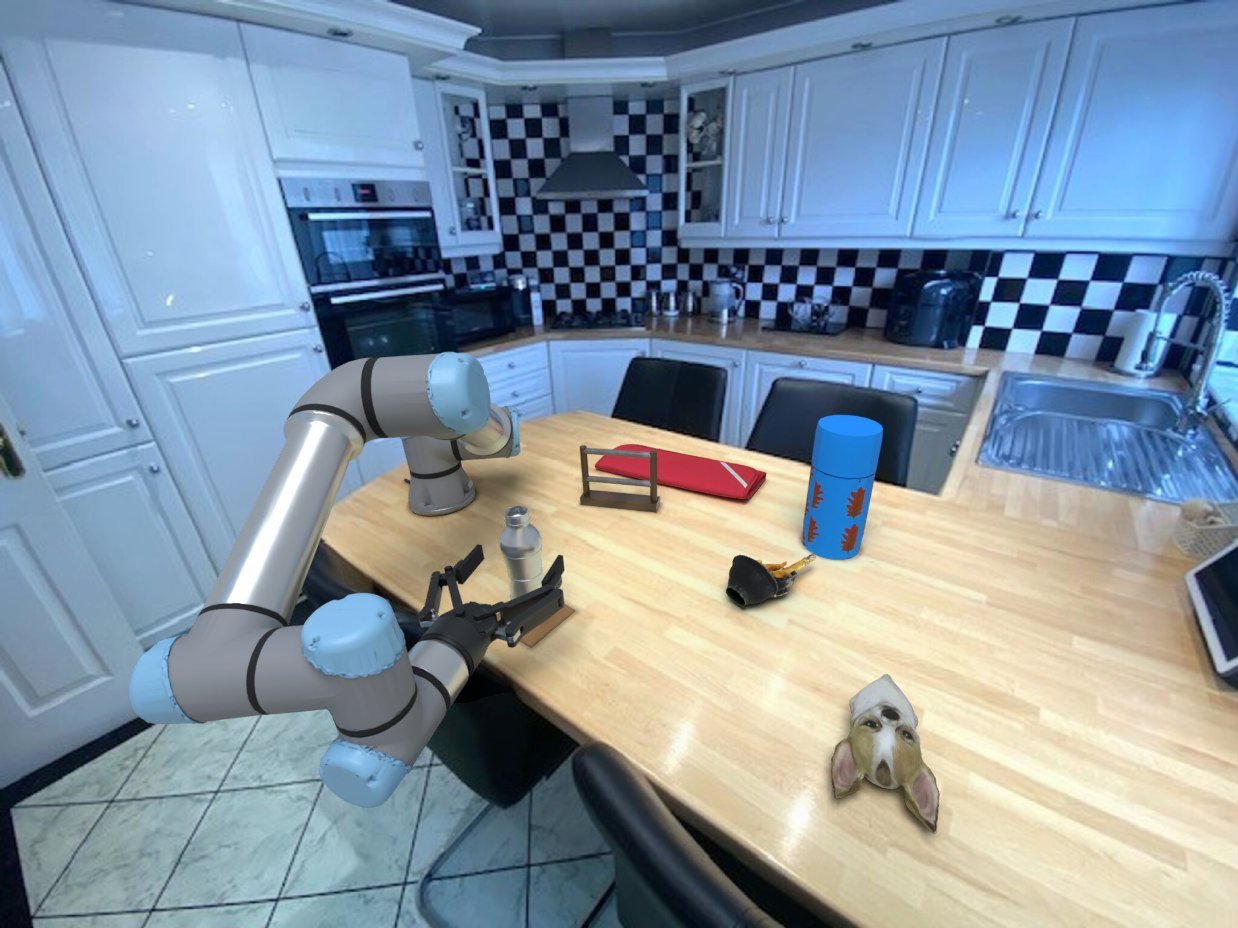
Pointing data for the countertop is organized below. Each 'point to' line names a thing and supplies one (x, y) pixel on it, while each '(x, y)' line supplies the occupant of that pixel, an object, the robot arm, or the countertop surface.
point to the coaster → (545, 626)
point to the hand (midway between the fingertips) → (520, 556)
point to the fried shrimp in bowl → (760, 579)
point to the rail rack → (617, 498)
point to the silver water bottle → (521, 551)
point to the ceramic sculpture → (885, 750)
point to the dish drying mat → (687, 472)
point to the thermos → (840, 485)
